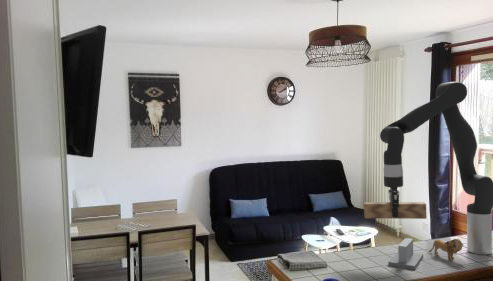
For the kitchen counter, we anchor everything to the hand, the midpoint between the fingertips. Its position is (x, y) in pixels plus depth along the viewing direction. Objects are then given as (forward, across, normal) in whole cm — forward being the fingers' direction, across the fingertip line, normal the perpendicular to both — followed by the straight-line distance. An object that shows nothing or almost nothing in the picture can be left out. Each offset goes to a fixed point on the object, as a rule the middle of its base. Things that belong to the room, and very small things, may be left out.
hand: (394, 215), depth 164 cm
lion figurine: (+19, +6, -20) cm, 29 cm away
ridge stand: (+19, -2, -4) cm, 19 cm away
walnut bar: (+1, 0, 0) cm, 1 cm away
